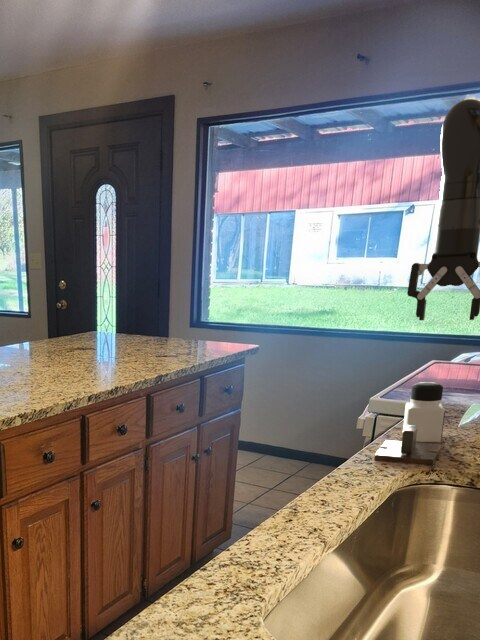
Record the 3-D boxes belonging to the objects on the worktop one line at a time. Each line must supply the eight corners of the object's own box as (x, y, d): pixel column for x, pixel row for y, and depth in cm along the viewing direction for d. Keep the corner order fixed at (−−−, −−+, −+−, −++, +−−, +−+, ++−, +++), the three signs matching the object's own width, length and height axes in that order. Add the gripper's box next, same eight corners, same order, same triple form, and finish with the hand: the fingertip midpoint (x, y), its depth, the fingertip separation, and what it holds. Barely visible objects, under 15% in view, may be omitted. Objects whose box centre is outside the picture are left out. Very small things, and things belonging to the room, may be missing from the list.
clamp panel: (439, 459, 134) (441, 443, 133) (432, 475, 124) (434, 459, 123) (383, 454, 139) (385, 439, 138) (372, 470, 129) (374, 453, 128)
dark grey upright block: (405, 445, 133) (407, 423, 132) (415, 445, 132) (417, 424, 131) (400, 452, 129) (403, 430, 127) (411, 453, 128) (413, 431, 126)
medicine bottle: (441, 443, 145) (448, 386, 141) (404, 441, 147) (410, 386, 143) (437, 435, 151) (444, 380, 147) (402, 434, 153) (408, 380, 149)
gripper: (503, 224, 123) (490, 317, 129) (417, 230, 130) (408, 318, 136) (502, 223, 117) (488, 321, 123) (411, 229, 124) (402, 321, 130)
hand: (446, 319), depth 129 cm, fingers open, 8 cm apart
